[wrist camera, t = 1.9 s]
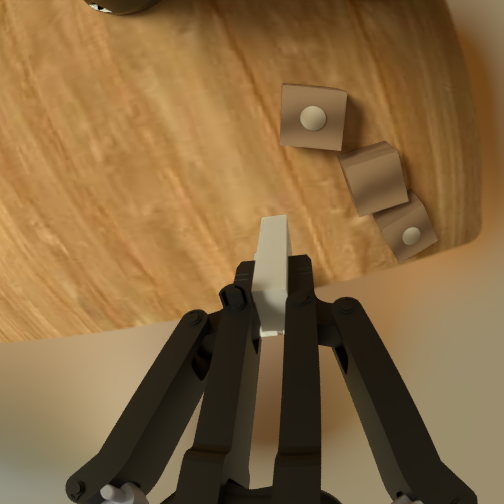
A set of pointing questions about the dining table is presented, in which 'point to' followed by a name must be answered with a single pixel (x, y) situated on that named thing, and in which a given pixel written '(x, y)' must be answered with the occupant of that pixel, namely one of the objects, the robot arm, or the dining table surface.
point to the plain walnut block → (374, 178)
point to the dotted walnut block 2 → (406, 227)
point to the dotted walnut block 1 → (312, 116)
